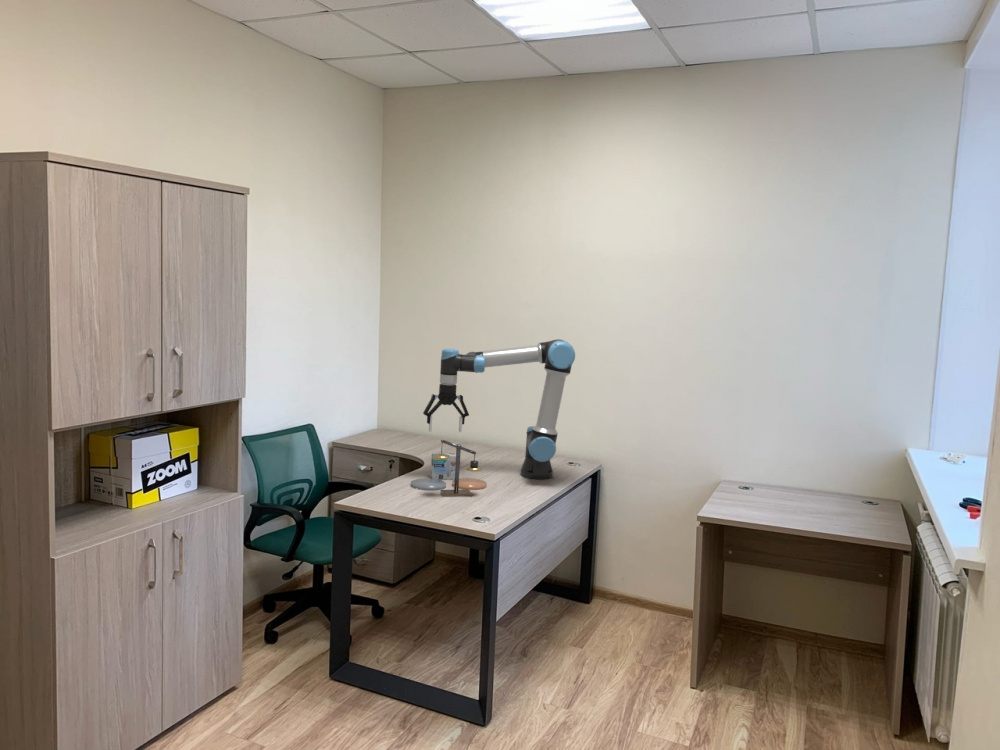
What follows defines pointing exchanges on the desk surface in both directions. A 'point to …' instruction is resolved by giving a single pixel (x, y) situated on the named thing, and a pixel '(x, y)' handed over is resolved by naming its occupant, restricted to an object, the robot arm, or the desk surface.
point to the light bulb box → (443, 467)
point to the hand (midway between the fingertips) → (445, 431)
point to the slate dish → (428, 484)
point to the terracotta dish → (471, 484)
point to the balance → (472, 467)
